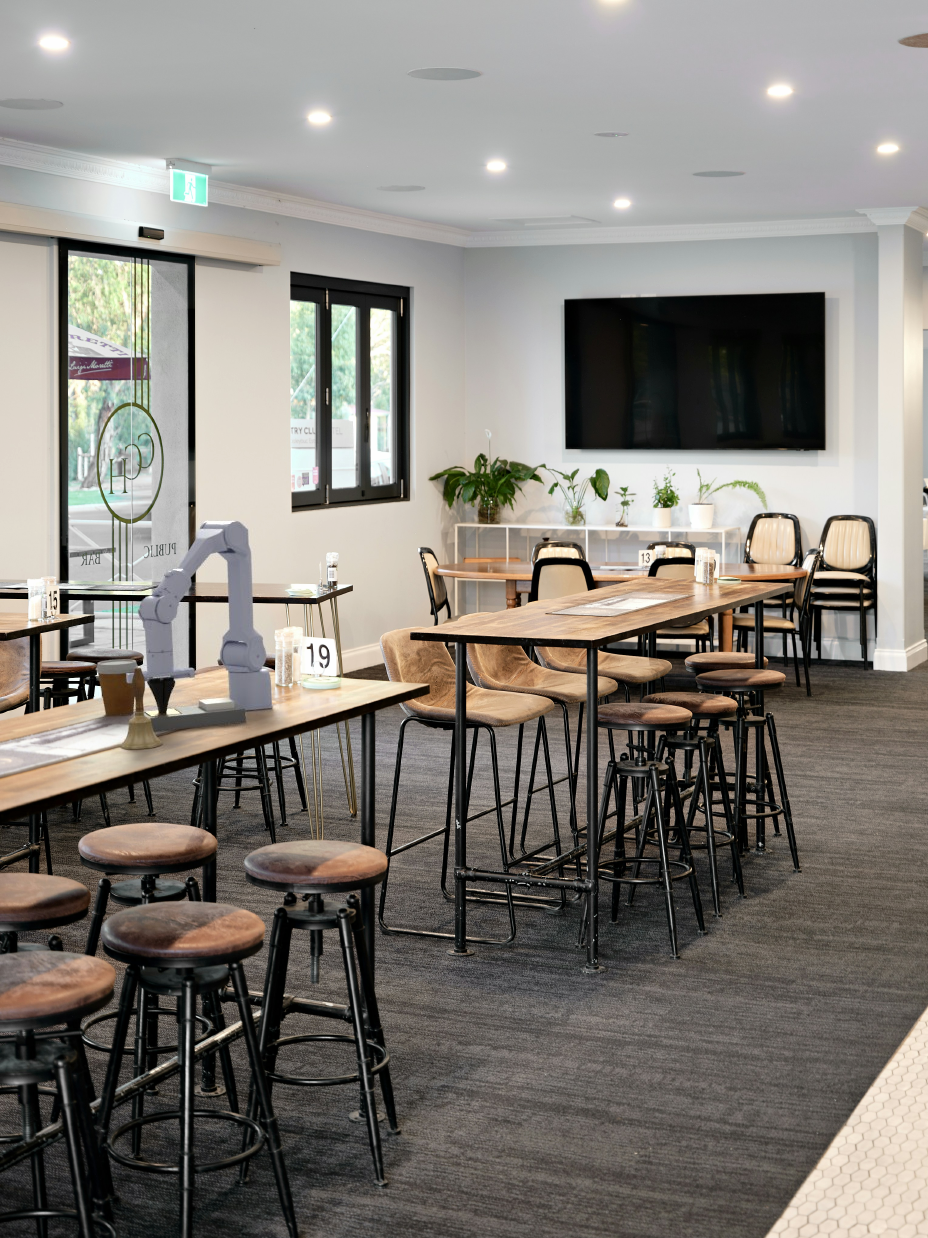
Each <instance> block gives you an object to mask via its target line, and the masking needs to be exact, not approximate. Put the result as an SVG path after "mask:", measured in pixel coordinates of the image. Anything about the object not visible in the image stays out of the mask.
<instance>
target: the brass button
mask: <svg viewBox="0 0 928 1238" xmlns="http://www.w3.org/2000/svg"><path fill="white" fill-rule="evenodd" d="M145 713H146V714H147V715H148V716H150V717H153V716H163V715H173V714H181V713H179V712H178V711H176V710H174V709H168V710H167V713H159V712H158V711H148V712H145Z"/></svg>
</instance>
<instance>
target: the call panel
mask: <svg viewBox="0 0 928 1238" xmlns="http://www.w3.org/2000/svg"><path fill="white" fill-rule="evenodd" d="M168 709H174V710H176V711H178V712H179V713H181V714H173V715H163V716H153V717H150V716H148V715H147V714H146V713H145V712H148V711H158V708H155V709H144V716H145V717H147V718H150V719H151V723H152V727H153V731H154V733H155V732H156V733H157V732H165V731H166V732H167V731H174V730H175V731H176V730H186V729H194V728H205V727H214V726H215V727H216V726H225V725H233V724H244V723H247V714H246V709H245V708H243V707H241V706H239V705H237V704H235V703H234V708H233V709H223V710H213V711H204V710H202V709H200V708H199V704H196V705H186V706H177V707H176V706H175V707H167V710H168ZM135 712H136V711H134V713H133V714H135Z"/></svg>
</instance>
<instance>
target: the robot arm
mask: <svg viewBox="0 0 928 1238" xmlns="http://www.w3.org/2000/svg"><path fill="white" fill-rule="evenodd" d="M249 542H250V541H249V529H248V528H247V527H246V526H245V525H244V524H243V523H241V522H240V521H238V520H232V521H231V520H230V521H223V520H222V521H219V520H218V521H217V520H216V521H213V520H206V521H204V522H203V523H201V525H200V527H199V529H198V530H196V532H195V540H194V542H193V543H192V545H191V546H190V548H189V550H188V551H187V553H186V554H185V556H184V558H183V560H182V561H181V562H180V563H179V565H178V567H177V569H176V568H174V569H169V571H166V572H165V573H164V577H163V579H162V580H161V581H160V583H159V585H158V586H157V587H156V588H155V589H154V590H153V592H152V594H151V595H148V596H145V598H143V599H142V600H141V602H140V604H139V609H137V614H138V617H139V618H140V620H141V622H142V628H143V630H144V634H145V635H144V636H145V637H144V638H145V653H146V655H145V658H146V659H145V660H146V670H142V673H143V676H144V679H145V682H146V683H147V686H148V687H149V689H150V692H151V693H152V695H153V698H154V700H155V704H156V706H157V709H158V712H159V713H167V708H169V707H168V706H169V700H170V699H171V695H172V692H173V691H174V687H175V686H176V680H177V679H187V678H189V679H192V678H195V677H196V676H195V675H196V674H195V672H196V671H195V668H193V667H186V668H182V667H181V668H175V666H174V665H175V664H174V663H175V662H174V645H173V643H174V642H173V629H172V628H173V627H172V624H173V623H172V621H173V620H174V619H176V617H177V615H178V608H179V605H180V602H181V600H182V599H183V598H184V597H185V595H186V594H187V592H188V591H189V589H190V588H191V586H192V579H191V577H193V576H194V574H196V572H197V571H198V569H200V567H201V566H202V565H203V563H205V561H207V559H208V558H209V556H210V555H211V554H217V553H218V554H219V555H220V556H221V557H222V558H223V559H224V560H225V561H226V565H227V589H228V590H227V592H228V594H227V595H228V619H229V620H228V622H229V623H228V624H229V625H228V626H229V628H228V630H227V631H226V632H225V634H224V635H222V637H221V638H222V639H221V640H222V643H221V647H220V651H219V659H220V662H221V663H222V665H223V666H224V667H225V671H228V674H227V675H228V677H227V678H228V695H229V696H228V699H230V700H232V701H234V703H235V704H237V705H239V706H241V707H243V708H245V709H246V711H255V710H256V711H257V710H265V709H272V708H274V705H273V699H272V695H273V694H272V680H271V679H272V678H271V674H270V671H269V669H266V668H262V667H263V666H264V665H265V663H266V660H267V651H266V648H265V646H264V641H263V640H264V638H263V636H262V635H261V633H259V632H258V631H257V630H256V629H255V628H254V603H253V602H254V601H253V569H252V568H253V567H252V566H253V565H252V551H251V547H250V544H249ZM133 675H134V673H126V678H127V683H132V679H133ZM175 679H176V680H175Z"/></svg>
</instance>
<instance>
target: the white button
mask: <svg viewBox="0 0 928 1238" xmlns="http://www.w3.org/2000/svg"><path fill="white" fill-rule="evenodd" d="M198 705H199V708H200V709H202V710H204V711H213V710H223V709H233V708H234V701H232V700H230V699H229V697H226V696H225V697H216V698H208V699H207V698H205V699H198Z"/></svg>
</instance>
